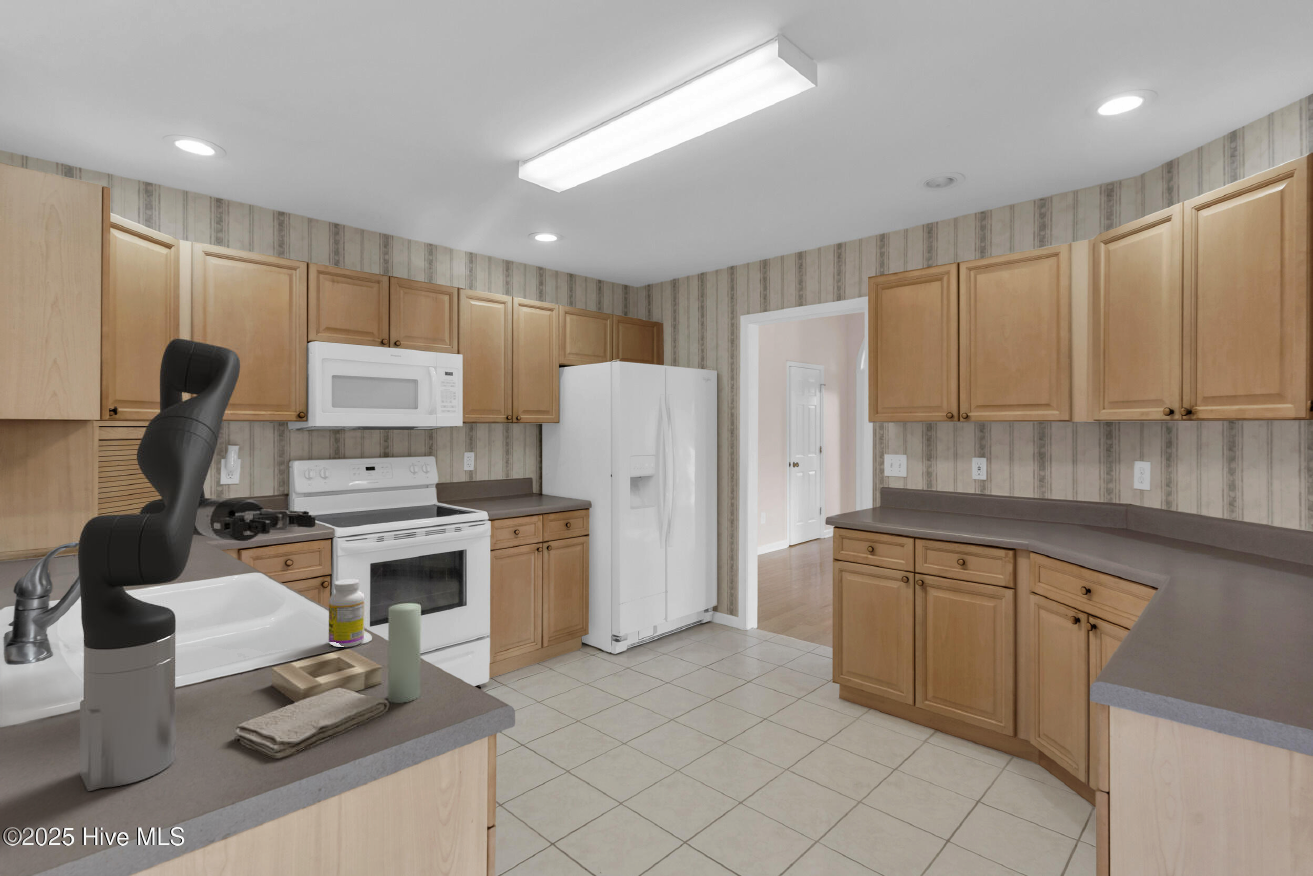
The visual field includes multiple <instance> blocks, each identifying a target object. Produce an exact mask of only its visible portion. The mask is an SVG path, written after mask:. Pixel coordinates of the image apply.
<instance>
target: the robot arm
mask: <svg viewBox="0 0 1313 876" xmlns="http://www.w3.org/2000/svg"><path fill="white" fill-rule="evenodd" d="M159 371H160V372H159V413H157V414H156V415H155V416H154V417H152V419H151V420H150V421H149V422H148V424H147V426H146V428H145V430H144V433H143V435H142V437H141V440H140V442H139V445H138V446H137V447H138V448H137V450H136V461H137V465H138V467H139V469H140V471H141V473H142V475H143V476H144V477H145V479H146V480H147V482H148V483H149V484H150V485H151V486H152V488H153V489H154V490H155V492H157V493H158V495H159V496H160V498H158V499H155V500H152V501H149V502H148V503H146V504H145V505H144V506H143V507H141V510H140V511H139V513H131V514H130V513H128V514H127V513H125V514H107V515H106V514H105V515H103V514H102V515H98V516H94V517H92V518H90V520H88V521H87V522H86V523H85V525H84V526H83V529H82V531H81V533H80V536H79V541H78V549H77V550H78V551H77V561H78V562H77V564H78V577H79V578H78V580H79V589H80V610H81V612H80V613H81V617H80V619H81V626H82V631H83V699H81V700H80V702H79V775H80V777H81V779H82V782H83V783H84V785H85V787H86V790H87V792H91V791H95V790H98V789H102V788H113V787H118V786H125V785H128V784H133V783H136V782H139V781H142V780H145V779H147V778H150V777H152V776H155V775H157V774H159V773H161V772H163V771H164V770H165V769H167V768H168V767H170V766H171V765H172V763H174V761H175V759H176V614H175V612H174V611H173V609H171V608H169V607H166V606H162V605H158V604H153V603H150V602H146V601H143V600H141V599H139V598H136V597H134V596H132V595H131V594H130V593H128V592H127V591H126V590H125V588H124V587H135V586H148V585H161V584H167V583H171V582H174V581H175V580H177V579H178V578H180V576H181V575H182V574H183V572H184V571H185V569H186V566H187V563H188V560H189V557H190V553H191V549H192V544H193V538H194V535H195V536H201V537H202V536H203V537H208V538H209V537H210V538H212V539H218V540H227V541H233V542H235V541H236V542H248V541H251V540H253V539H254V538H256V537H257V536H258V535H267V534H270V533H271V531H285V530H288V529H289V528H309V529H310V528H311V529H312V528H315V527H316V515H314V514H310V512H309V511H307V510H304V511H301V510H288V509H284V510H283V509H282V510H280V509H279V510H272V509H270V508H269V509H267V508H266V509H265V508H264V507H263V506H262V504H260V503H259V502H257V501H255V500H254V499H247V498H246V499H245V498H231V497H219V498H213V497H212V498H210V497H206V495H205V489H204V486H205V483H206V479H207V476H208V473H209V470H210V468H211V466H212V463H213V459H214V457H215V452H216V450H217V445H218V441H219V437H220V432H221V427H222V425H223V419H224V415H225V413H226V410H227V408H228V406H229V403H230V400H231V398H232V395H233V393H234V390H235V389H236V385H237V383H238V380H239V377H240V376H239V375H240V372H241V361H240V357H239V355H238V354H237V353H236V352H235V351H234V350H233V349H232V350H231V349H229V348H227V347H223V346H218V345H214V344H210V343H205V342H199V341H194V340H190V339H184V338H174V339H171V340H170V341H169V343H168V344H167V345H166V347H165V349H164V351H163V355H162V358H161V364H160V369H159ZM183 394H189V395H195V396H193V397H192V396H191V397H190V398H187V399H185V400H184V398H183ZM279 522H282V523H281V524H282V525H281V526H278V525H279Z"/></svg>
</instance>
